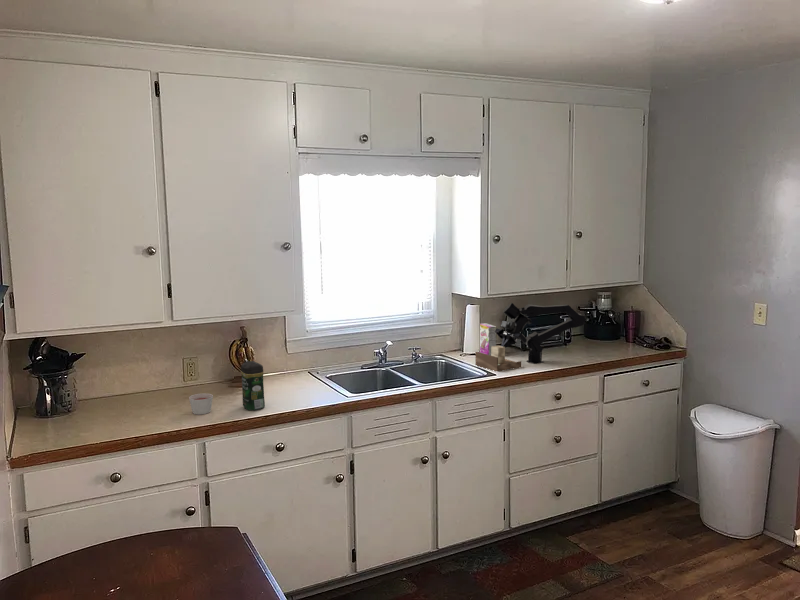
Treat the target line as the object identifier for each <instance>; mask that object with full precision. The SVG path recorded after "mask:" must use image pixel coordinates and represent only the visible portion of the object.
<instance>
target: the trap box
mask: <svg viewBox="0 0 800 600" xmlns="http://www.w3.org/2000/svg"><path fill="white" fill-rule="evenodd" d="M475 365H477V366H476V367H479V366H480V367H479V368H482V367H483V368H482V369H486V368H487V370H489V369H490V370H489V371H493V370H494V372H496V371H498V372H503V371H502V370H504V371H508V370H507V369H509V370H514V369H518V368H519V367H520V368H522V360H520V361H514V360H510V359H506V358H505V363H501V364H498V357H495V356H491V355H487V354H483V353H480V352H479V351H475ZM513 368H514V369H513Z"/></svg>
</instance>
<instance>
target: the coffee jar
mask: <svg viewBox="0 0 800 600" xmlns="http://www.w3.org/2000/svg"><path fill="white" fill-rule="evenodd" d="M240 374H241V388H242V406H243V407H244V409H245V410H247V411H259V410H261V409H264V408H265V407H266V406H265V403H266V402H265V391H264V389H265V388H264V387H265V385H264V366H263V365H262V364H261V363H258V362H256V361H254V360H253V361H252V360H249V361H244V362H243V363H242V364H241V369H240Z"/></svg>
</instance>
